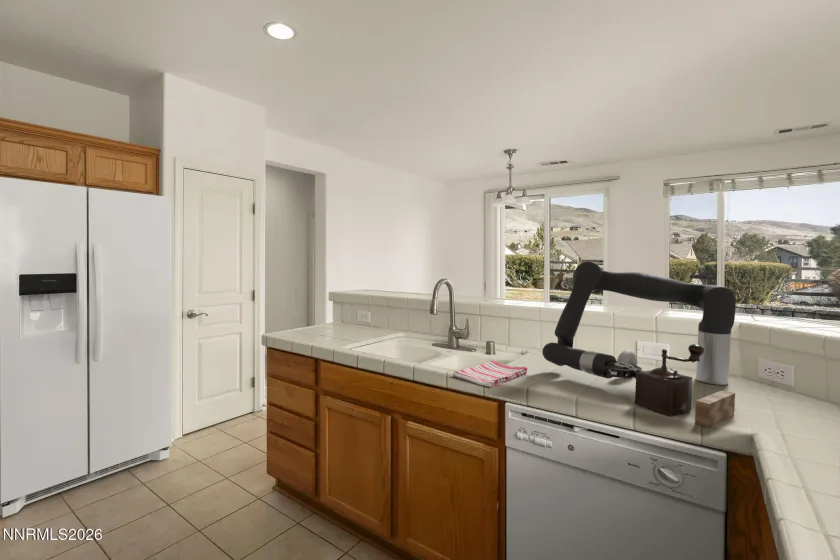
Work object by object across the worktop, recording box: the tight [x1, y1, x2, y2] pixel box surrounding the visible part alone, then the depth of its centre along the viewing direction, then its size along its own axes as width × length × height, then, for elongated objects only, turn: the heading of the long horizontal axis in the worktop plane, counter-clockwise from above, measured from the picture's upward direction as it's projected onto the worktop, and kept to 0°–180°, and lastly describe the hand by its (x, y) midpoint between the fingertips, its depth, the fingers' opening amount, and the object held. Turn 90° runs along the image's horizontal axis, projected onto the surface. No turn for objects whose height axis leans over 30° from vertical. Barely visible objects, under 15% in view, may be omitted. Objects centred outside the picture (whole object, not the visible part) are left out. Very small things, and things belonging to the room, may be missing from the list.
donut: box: [616, 349, 638, 366], centre depth 145 cm, size 10×4×10 cm, turn 124°
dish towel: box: [452, 360, 528, 389], centre depth 146 cm, size 17×23×4 cm
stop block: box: [694, 389, 736, 428], centre depth 108 cm, size 16×3×6 cm, turn 124°
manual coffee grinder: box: [634, 343, 704, 417], centre depth 117 cm, size 16×11×18 cm
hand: (651, 377), depth 122 cm, fingers closed
